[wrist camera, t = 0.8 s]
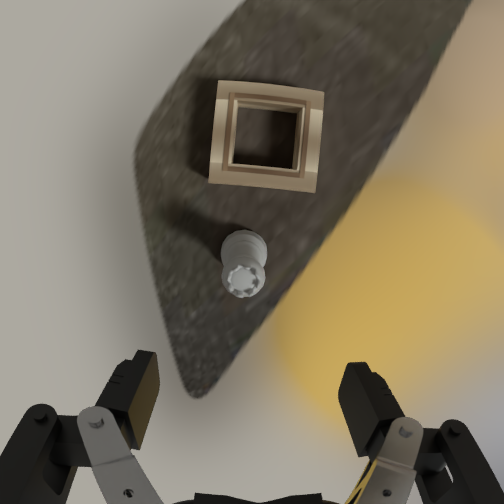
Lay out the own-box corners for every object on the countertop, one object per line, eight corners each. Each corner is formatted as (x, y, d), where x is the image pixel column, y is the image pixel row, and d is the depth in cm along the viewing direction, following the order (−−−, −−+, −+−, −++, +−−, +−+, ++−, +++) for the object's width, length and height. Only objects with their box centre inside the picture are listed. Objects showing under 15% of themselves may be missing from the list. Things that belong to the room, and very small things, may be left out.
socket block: (221, 89, 24) (218, 80, 21) (316, 99, 25) (324, 91, 22) (212, 181, 27) (208, 182, 24) (307, 190, 27) (315, 192, 24)
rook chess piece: (213, 261, 29) (202, 295, 21) (232, 220, 28) (227, 241, 20) (254, 279, 30) (257, 318, 22) (274, 240, 29) (285, 268, 21)
